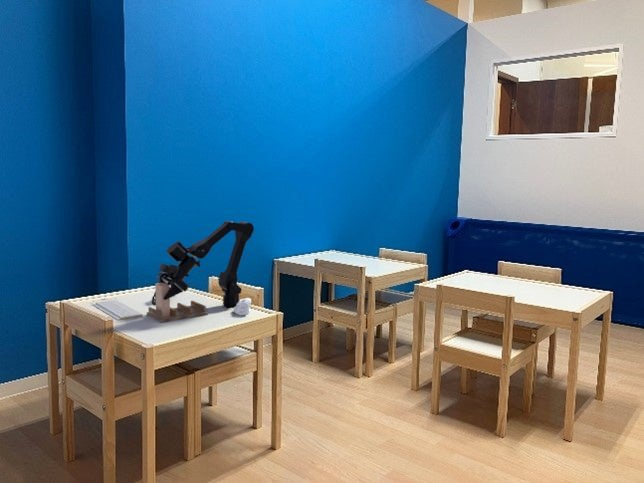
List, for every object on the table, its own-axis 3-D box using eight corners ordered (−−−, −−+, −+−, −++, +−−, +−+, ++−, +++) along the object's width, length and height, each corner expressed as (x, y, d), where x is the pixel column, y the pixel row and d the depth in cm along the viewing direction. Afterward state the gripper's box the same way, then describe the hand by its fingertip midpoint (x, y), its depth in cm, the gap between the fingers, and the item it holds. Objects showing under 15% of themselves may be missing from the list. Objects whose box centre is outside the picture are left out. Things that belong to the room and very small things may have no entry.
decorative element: (160, 306, 246) (160, 293, 245) (149, 305, 246) (149, 293, 246) (177, 295, 268) (177, 283, 267) (168, 294, 268) (167, 283, 268)
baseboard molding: (114, 322, 220) (143, 318, 228) (114, 315, 220) (143, 311, 228) (89, 306, 244) (116, 303, 252) (89, 300, 243) (116, 297, 251)
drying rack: (191, 307, 244) (191, 299, 243) (208, 314, 233) (208, 306, 232) (146, 314, 230) (146, 306, 230) (161, 322, 219) (161, 314, 219)
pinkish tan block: (163, 312, 231) (163, 282, 229) (169, 315, 226) (169, 285, 224) (156, 313, 228) (155, 283, 227) (162, 317, 224) (161, 286, 222)
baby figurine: (239, 308, 245) (251, 294, 244) (250, 324, 236) (262, 309, 235) (225, 303, 239) (237, 288, 238) (236, 319, 230) (248, 303, 229)
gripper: (161, 253, 233) (136, 281, 228) (180, 259, 219) (155, 289, 214) (178, 269, 240) (155, 297, 234) (198, 276, 225) (174, 306, 220)
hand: (159, 297), depth 225 cm, fingers open, 9 cm apart
